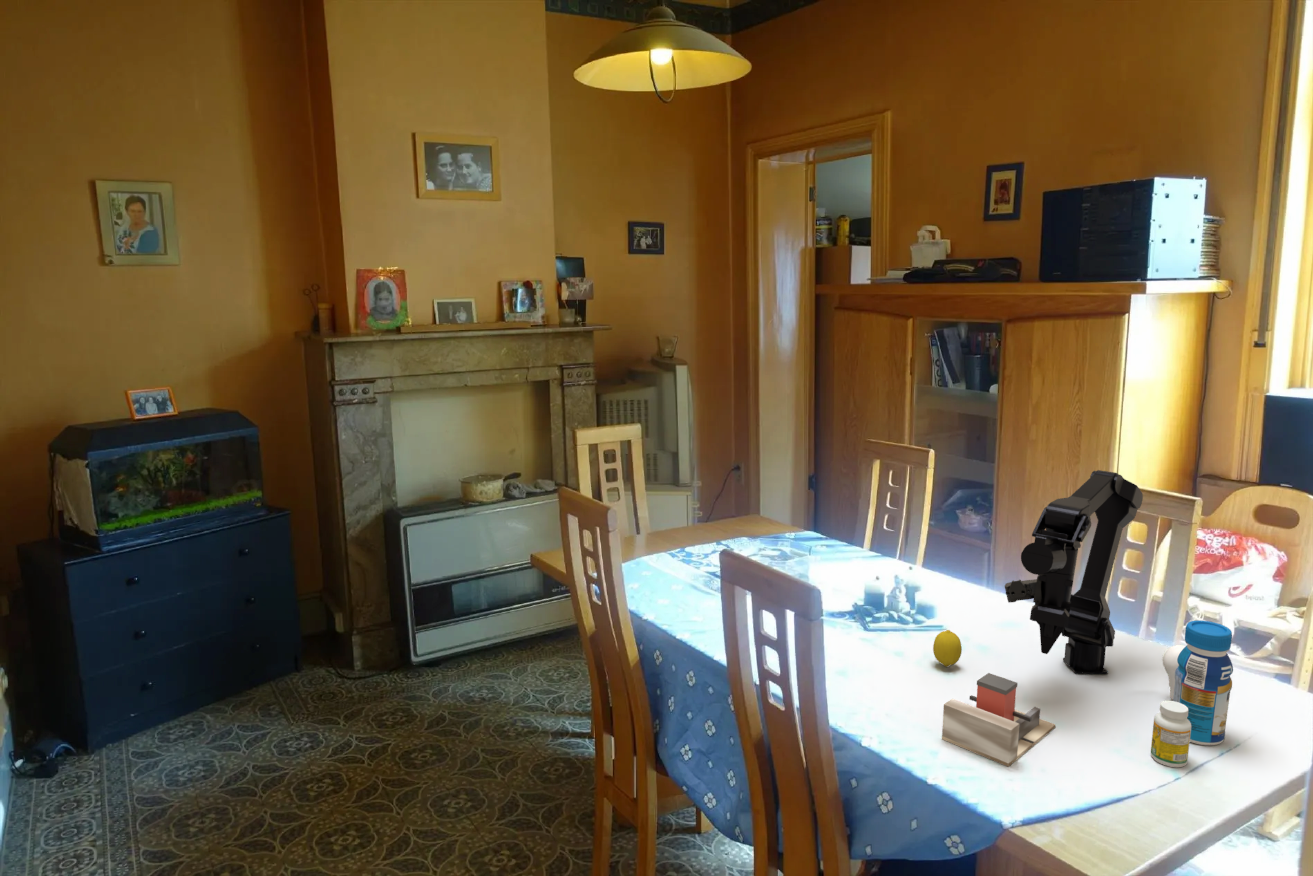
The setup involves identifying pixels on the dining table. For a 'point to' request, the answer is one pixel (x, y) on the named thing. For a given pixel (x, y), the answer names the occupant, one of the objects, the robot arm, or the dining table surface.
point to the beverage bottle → (1205, 680)
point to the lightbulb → (1172, 664)
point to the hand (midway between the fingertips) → (1044, 653)
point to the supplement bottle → (1171, 734)
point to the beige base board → (992, 731)
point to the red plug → (997, 697)
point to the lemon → (947, 648)
